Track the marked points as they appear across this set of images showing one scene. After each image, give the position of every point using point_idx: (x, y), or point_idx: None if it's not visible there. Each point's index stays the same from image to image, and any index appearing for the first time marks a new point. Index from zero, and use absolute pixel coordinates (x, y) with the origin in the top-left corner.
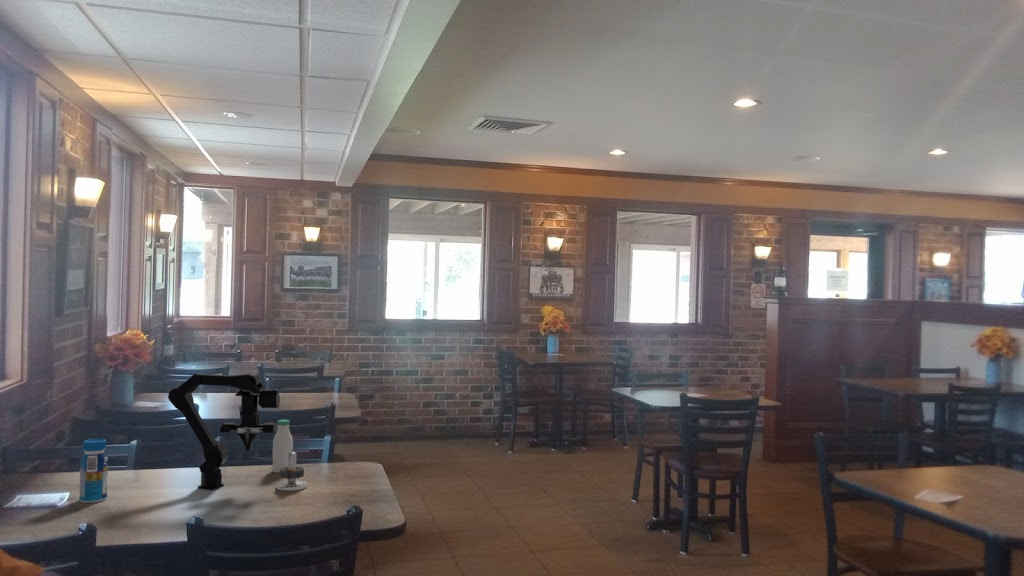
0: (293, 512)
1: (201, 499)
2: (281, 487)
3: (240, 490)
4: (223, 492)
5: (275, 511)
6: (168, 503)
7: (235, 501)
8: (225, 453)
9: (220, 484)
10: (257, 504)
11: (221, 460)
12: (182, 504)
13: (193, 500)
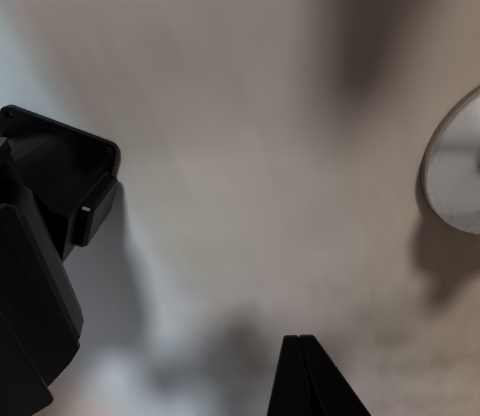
0: (464, 406)
1: (139, 330)
2: (456, 218)
3: (244, 220)
4: (177, 252)
5: (413, 402)
6: None
7: (271, 342)
8: (6, 291)
9: (114, 188)
10: (354, 362)
11: (74, 343)
12: (108, 370)
13: (117, 339)
